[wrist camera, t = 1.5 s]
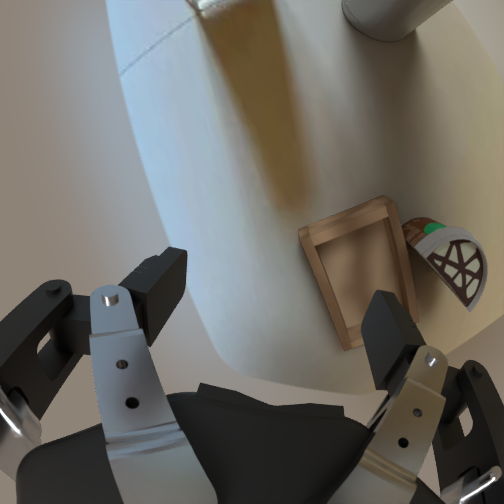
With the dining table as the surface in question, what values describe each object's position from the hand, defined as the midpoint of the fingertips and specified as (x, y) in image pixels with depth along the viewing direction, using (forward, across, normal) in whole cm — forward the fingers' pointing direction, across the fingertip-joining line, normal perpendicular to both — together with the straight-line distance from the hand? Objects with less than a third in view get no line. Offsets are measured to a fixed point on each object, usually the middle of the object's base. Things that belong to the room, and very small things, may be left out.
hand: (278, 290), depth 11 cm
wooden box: (+22, -12, +8) cm, 27 cm away
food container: (+23, -20, +1) cm, 31 cm away
